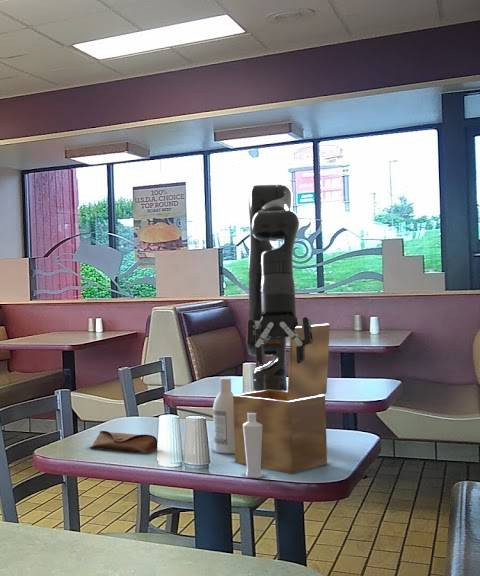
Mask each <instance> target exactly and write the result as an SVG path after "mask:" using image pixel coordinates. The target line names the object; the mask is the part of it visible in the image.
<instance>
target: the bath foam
mask: <svg viewBox="0 0 480 576" xmlns="http://www.w3.org/2000/svg"><path fill="white" fill-rule="evenodd" d="M233 395H234V394H233V391H232V379H231V378H230V377H220V378H219V393H218V394H217V396H216V397H215V399H214V401H213V404H212V405H213V406H212V415H213V418H212V419H213V421H212V422H213V449H214V451H215V452H216V453H219V454H224V455H225V454H226V455H228V454H229V455H231V454H233V455H234V454H235V434H234V404H233Z"/></svg>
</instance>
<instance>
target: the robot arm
mask: <svg viewBox="0 0 480 576" xmlns="http://www.w3.org/2000/svg"><path fill="white" fill-rule="evenodd" d="M248 195H249V196H248V197H249V198H248V215H249V216H248V217H249V256H248V258H249V259H248V311H247V312H248V313H247V323H246V335H245V336H246V337H245V338H246V339H245V341H246V342H245V343H246V344H245V345H246V350H247V352H248V355H250V356H252V357H255V358H256V361H257V362H258V363H259V365H263V366H259V367H256V368H254V369H253V371H252V388H253V391H252V392H256V391H262V390H268V389H270V390H280V391H288V385H287V338H289V339H290V338H291V339H292V340H293V341H294V342H295V343H296V344H297V346H298V347H296V352H297V363H302V361H304V360H305V346H306V345H308V344H312V343H313V336H312V327H311V326H312V321H311V318H310V317H307V316H304V317H303V318H297V310H296V306H297V305H296V285H295V279H294V267H293V256H294V247H295V242H296V239H297V235H298V232H299V226H300V219H299V218H300V217H299V216H298V214H297V213H296V212H295V211H293V192H292V189H291V188H290V186H289V185H285V184H258V185H253V186H251V188H250V191H249V194H248ZM271 241H283V242H282V244H281V245H280V246H278V247H275V246H274V244H273V243H272V242H271ZM298 325H299V327H303V328H304V337H305V339H304V340H302V339H301V338H300V337H299V335H298V334H297V333H296V332H295V331H294V329H295V328H296V327H298ZM266 357H272V359H271V361H269V362H268V363H266V362H265V361H266ZM167 407H168V408H170V409H171V410H175V411H181V412H185V413H186V412H187V413H191V414H195V415H200V416H204V417H208V418H212V419H213V414H209V413H205V412H200V411H197V410H191V409H186V408H181V407H176V406H173V405H172V403H171V402H169V403H168V404H167V405H166V408H167Z"/></svg>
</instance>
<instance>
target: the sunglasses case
mask: <svg viewBox="0 0 480 576" xmlns="http://www.w3.org/2000/svg"><path fill="white" fill-rule="evenodd" d="M157 442H158V439H157V438H156V437H155V436H154V435H152V434H134V433H125V432H111V431H107V430H100V431H99V433H98V436H97V437H96V438H95V440H94V442H93V443H92V445H91V446H89V449H100V450H105V451H106V450H108V451H116V452H123V453H146V454H147V453H152V452H155V451H157V449H158V447H157Z"/></svg>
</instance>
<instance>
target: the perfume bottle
mask: <svg viewBox="0 0 480 576" xmlns="http://www.w3.org/2000/svg"><path fill="white" fill-rule="evenodd" d="M247 414H248V422H246V423H244V424H243V432H244V442H245V453H246V463H247V464H246V471H245V476H246V478H252V479H253V478H254V479H258V478H261V477H263V473H262V469H261V448H262V425H261V424H260V423H258V422H256V413H247Z"/></svg>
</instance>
